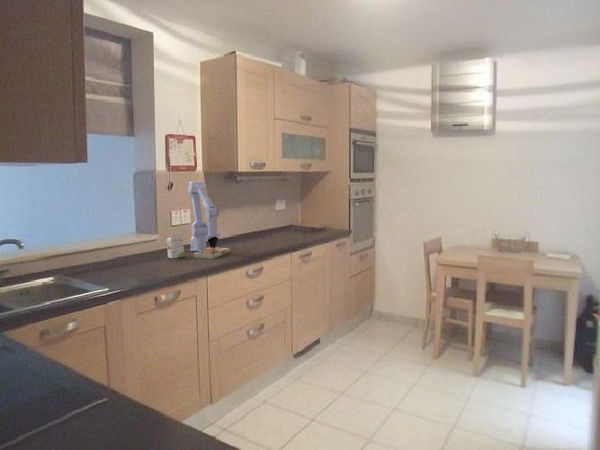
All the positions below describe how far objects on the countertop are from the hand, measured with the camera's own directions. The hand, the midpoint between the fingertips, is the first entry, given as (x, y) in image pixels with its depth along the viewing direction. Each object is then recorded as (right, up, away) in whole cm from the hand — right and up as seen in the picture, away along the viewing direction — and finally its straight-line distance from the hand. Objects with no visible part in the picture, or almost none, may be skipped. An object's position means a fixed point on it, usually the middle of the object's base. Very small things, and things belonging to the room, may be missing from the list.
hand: (213, 249), depth 272 cm
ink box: (-21, -4, -7) cm, 22 cm away
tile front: (-2, -4, -6) cm, 8 cm away
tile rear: (-1, -1, -3) cm, 4 cm away
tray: (-2, -4, -6) cm, 8 cm away
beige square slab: (+1, -3, +4) cm, 5 cm away
